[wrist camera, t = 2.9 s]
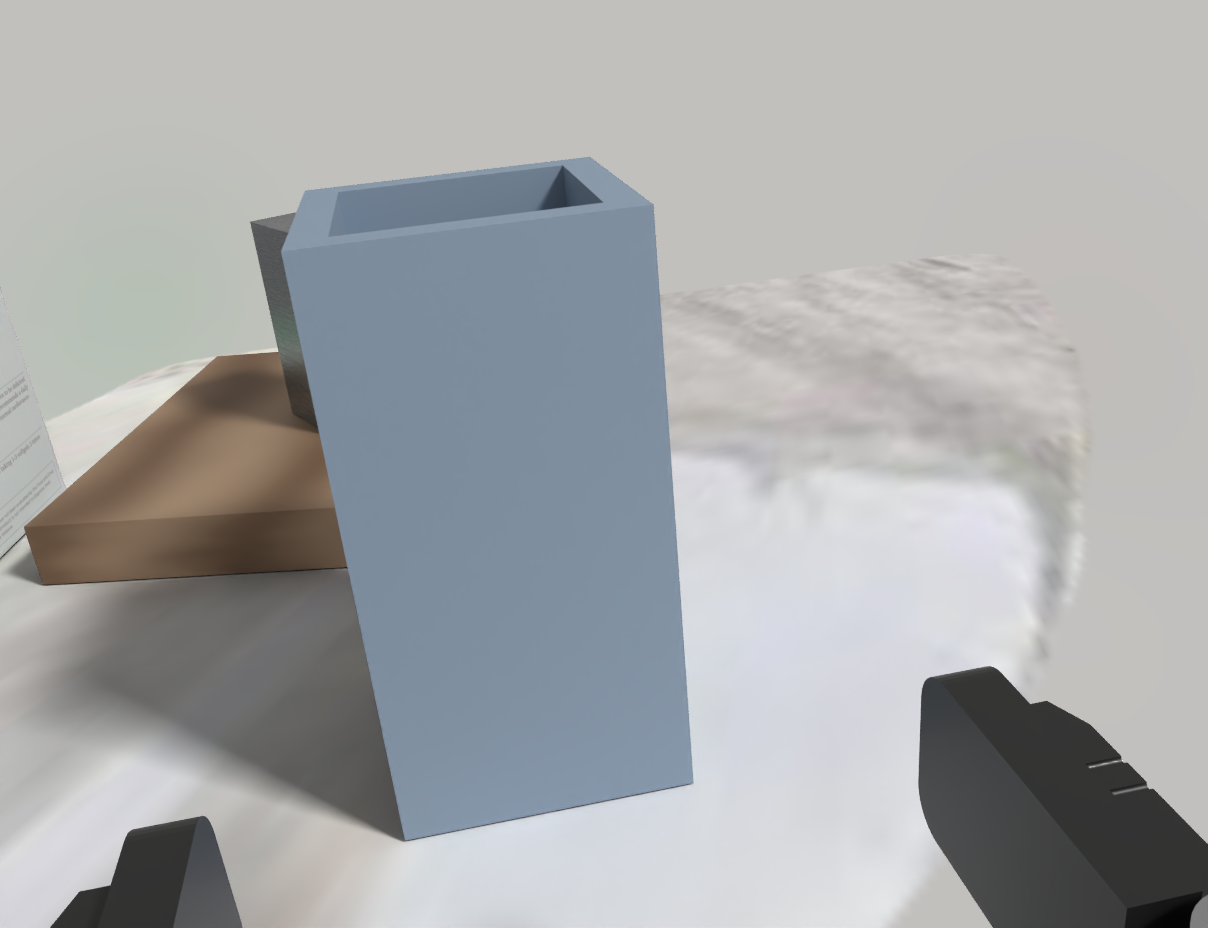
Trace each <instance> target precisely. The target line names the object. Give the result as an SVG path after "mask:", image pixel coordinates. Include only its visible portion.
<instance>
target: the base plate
mask: <svg viewBox="0 0 1208 928" xmlns="http://www.w3.org/2000/svg"><path fill="white" fill-rule="evenodd" d="M24 530H25V533H26V536H27V539H28V541H29V544H30V547H31V550H32V553H33V556H34V559H35V562H36V565H37V568H38V571H39V574H40V576H41V579H42V582H43V585H49V584H66V583H83V582H100V581H117V580H134V579H151V578H168V577H185V576H202V575H219V574H237V573H254V572H271V571H288V570H305V569H322V568H339V567H347V563H346V558H345V553H344V548H343V544H342V539H341V534H340V529H339V525H338V520H337V515H336V510H335V506H334V501H333V496H332V491H331V487H330V482H329V477H328V472H327V468H326V463H325V458H324V453H323V449H322V444H321V439H320V434H319V429H317V428H315V427H314V426H312V425H310V424H309V423H307V422H305V421H304V420H302V419H300V418H299V417H297V416H295V415H294V414H292V410H291V405H290V401H289V396H288V392H287V387H286V383H285V378H284V373H283V369H282V364H281V360H280V355H279V352H272V353H259V354H245V355H231V356H218V357H216V358H215V359H214V360H213V361H212V362H210V363H209V364H208V365H207V366H206V367H205V368H204V369H203V370H201V371H200V372H199V373H198V374H197V375H196V376H195V377H193V378H192V379H191V380H190V381H189V382H188V383H187V384H185V385H184V386H183V387H182V388H181V389H180V390H179V391H178V392H176V393H175V394H174V395H173V396H172V397H171V398H170V399H168V400H167V401H166V402H165V403H164V404H163V405H162V406H161V407H159V408H158V409H157V410H156V411H155V412H154V413H153V414H151V415H150V416H149V417H148V418H147V419H146V420H145V421H143V422H142V423H141V424H140V425H139V426H138V427H137V428H136V429H134V430H133V431H132V432H131V433H130V434H129V435H128V436H126V437H125V438H124V439H123V440H122V441H121V442H120V443H119V444H117V445H116V446H115V447H114V448H113V449H112V450H111V451H109V452H108V453H107V454H106V455H105V456H104V457H103V458H101V459H100V460H99V461H98V462H97V463H96V464H95V465H94V466H92V467H91V468H90V469H89V470H88V471H87V472H86V473H84V474H83V475H82V476H81V477H80V478H79V479H78V480H77V481H75V482H74V483H73V484H72V485H71V486H70V487H69V488H67V489H66V490H65V491H64V492H63V493H62V494H61V495H59V496H58V497H57V498H56V499H55V500H54V501H53V502H52V503H50V504H49V505H48V506H47V507H46V508H45V509H44V510H42V511H41V512H40V513H39V514H38V515H37V516H36V517H35V518H33V519H32V520H31V521H30V522H29V523H28V524H27V525H25V526H24Z"/></svg>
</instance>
